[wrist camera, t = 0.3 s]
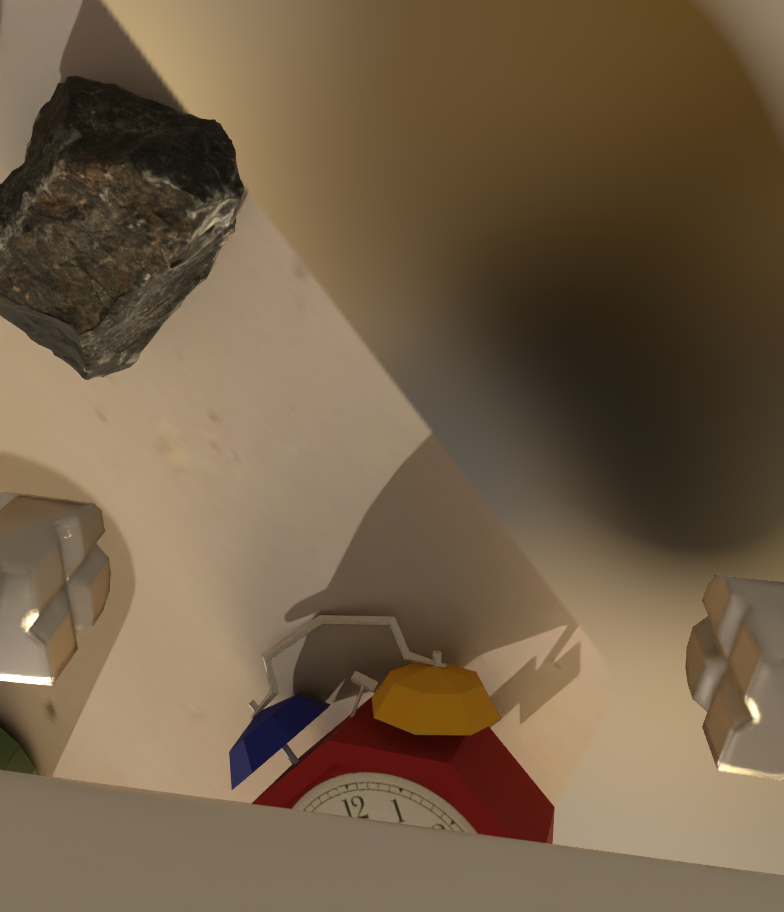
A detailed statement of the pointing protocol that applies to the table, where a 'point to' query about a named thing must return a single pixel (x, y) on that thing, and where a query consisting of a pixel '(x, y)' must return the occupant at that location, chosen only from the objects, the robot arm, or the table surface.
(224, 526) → the table surface
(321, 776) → the alarm clock
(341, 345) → the table surface
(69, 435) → the table surface
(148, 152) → the rock
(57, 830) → the robot arm
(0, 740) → the bowl
